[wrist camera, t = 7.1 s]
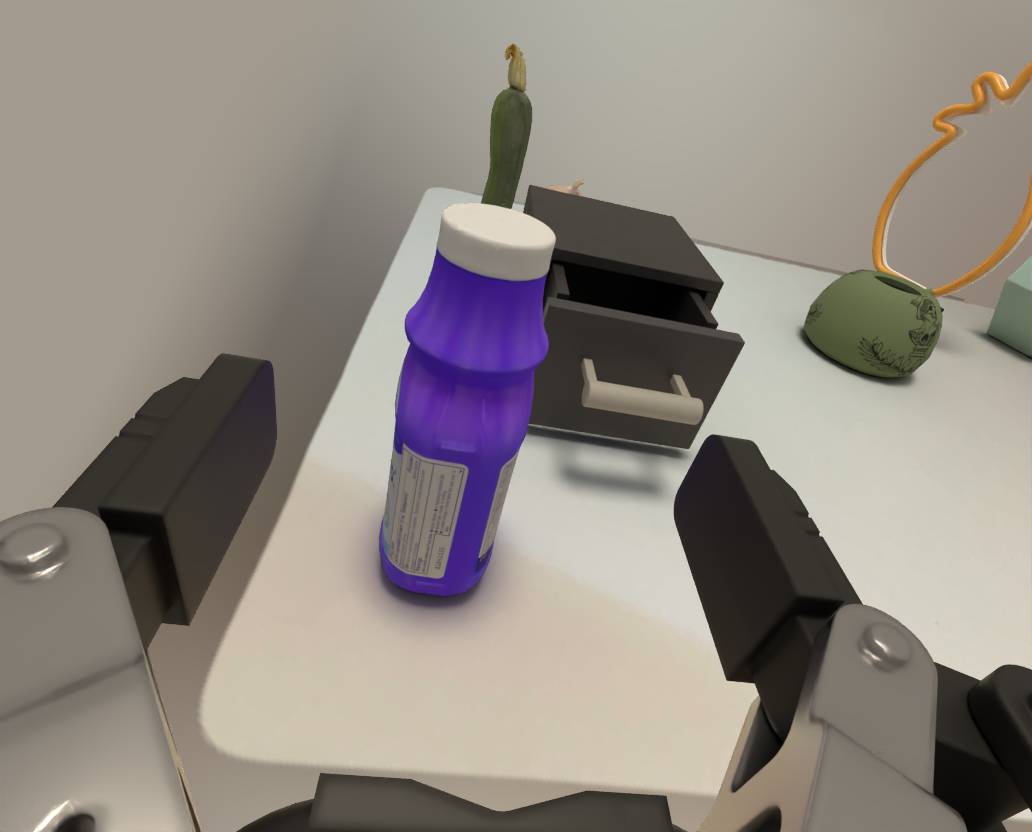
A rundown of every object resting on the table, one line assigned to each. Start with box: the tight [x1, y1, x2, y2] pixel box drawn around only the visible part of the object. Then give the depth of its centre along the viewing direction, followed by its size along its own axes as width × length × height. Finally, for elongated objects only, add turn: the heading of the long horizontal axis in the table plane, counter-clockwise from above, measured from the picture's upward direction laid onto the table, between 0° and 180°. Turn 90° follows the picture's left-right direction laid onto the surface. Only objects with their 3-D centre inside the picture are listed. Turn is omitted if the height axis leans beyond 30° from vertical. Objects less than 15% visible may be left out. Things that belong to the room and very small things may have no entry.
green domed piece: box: [804, 270, 942, 377], centre depth 62 cm, size 16×13×9 cm
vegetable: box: [481, 44, 532, 209], centre depth 61 cm, size 4×4×20 cm
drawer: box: [529, 259, 745, 449], centre depth 40 cm, size 18×13×9 cm
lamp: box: [872, 61, 1032, 312], centre depth 66 cm, size 17×9×32 cm, turn 21°
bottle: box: [379, 203, 556, 596], centre depth 24 cm, size 7×6×17 cm
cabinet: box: [523, 185, 724, 312], centre depth 48 cm, size 15×14×11 cm
